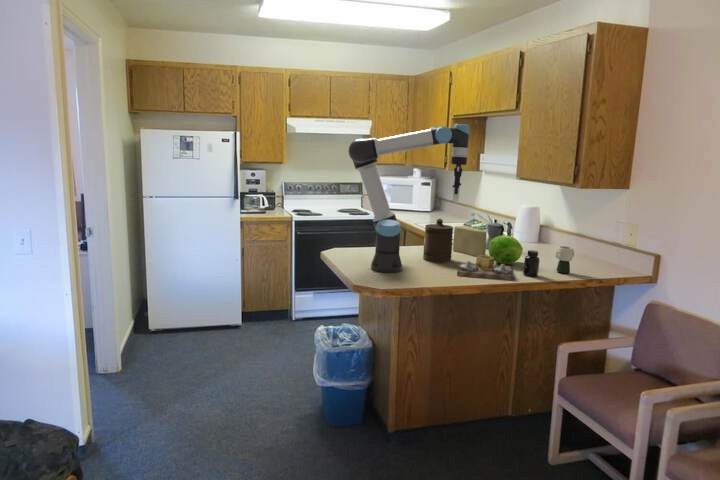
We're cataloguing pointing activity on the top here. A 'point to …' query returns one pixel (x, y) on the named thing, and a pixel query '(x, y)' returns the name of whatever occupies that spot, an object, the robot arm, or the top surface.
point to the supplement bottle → (531, 264)
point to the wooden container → (438, 242)
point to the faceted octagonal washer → (484, 262)
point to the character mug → (564, 258)
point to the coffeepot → (494, 231)
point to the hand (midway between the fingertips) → (455, 199)
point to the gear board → (485, 271)
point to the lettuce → (505, 249)
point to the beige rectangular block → (469, 240)
